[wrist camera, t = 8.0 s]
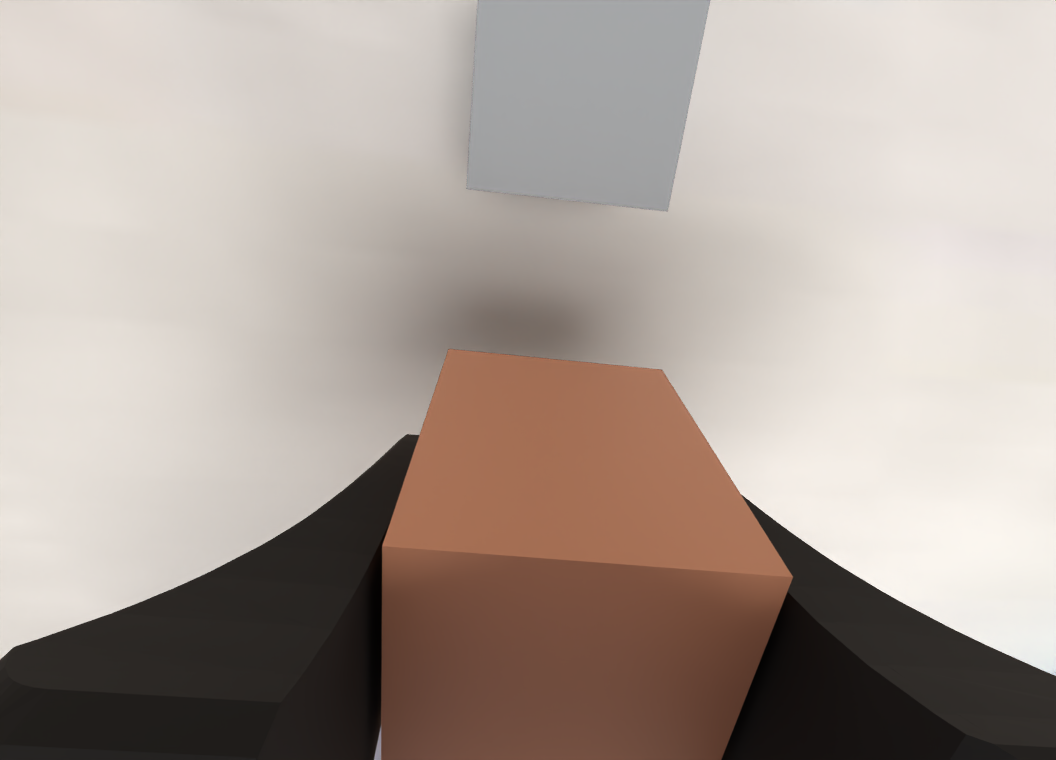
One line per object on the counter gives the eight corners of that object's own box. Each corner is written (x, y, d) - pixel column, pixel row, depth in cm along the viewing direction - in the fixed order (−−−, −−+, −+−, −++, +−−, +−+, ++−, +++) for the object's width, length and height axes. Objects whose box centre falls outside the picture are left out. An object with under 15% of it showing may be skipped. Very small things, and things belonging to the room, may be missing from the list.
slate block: (648, 27, 16) (716, -32, 10) (621, 189, 18) (667, 211, 12) (494, 8, 16) (481, -65, 10) (482, 174, 17) (466, 188, 12)
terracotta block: (661, 369, 12) (792, 577, 6) (623, 539, 13) (698, 818, 8) (448, 349, 11) (382, 546, 6) (439, 524, 13) (380, 803, 8)
